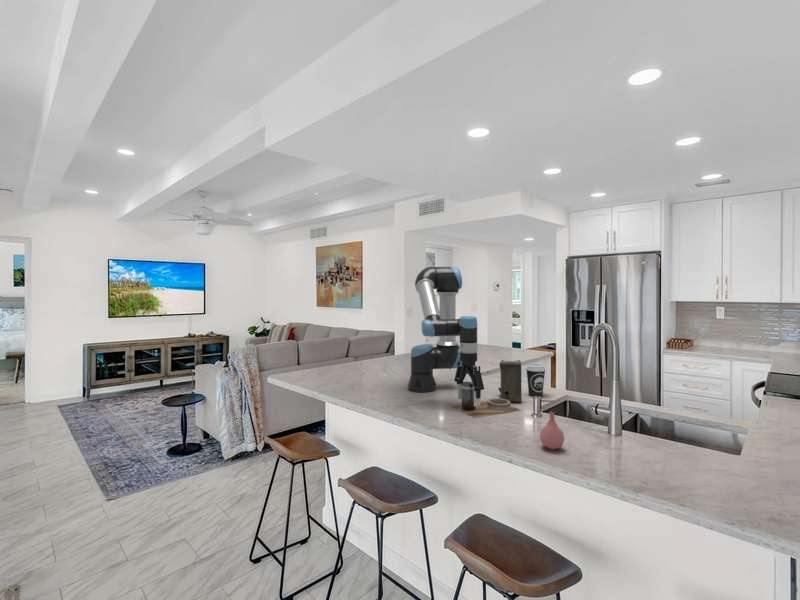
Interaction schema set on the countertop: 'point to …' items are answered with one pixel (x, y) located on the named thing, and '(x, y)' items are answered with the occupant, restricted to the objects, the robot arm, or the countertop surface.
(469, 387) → the lens
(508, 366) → the vintage camera
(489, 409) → the mount board
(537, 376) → the coffee cup
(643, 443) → the countertop surface
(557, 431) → the perfume bottle
